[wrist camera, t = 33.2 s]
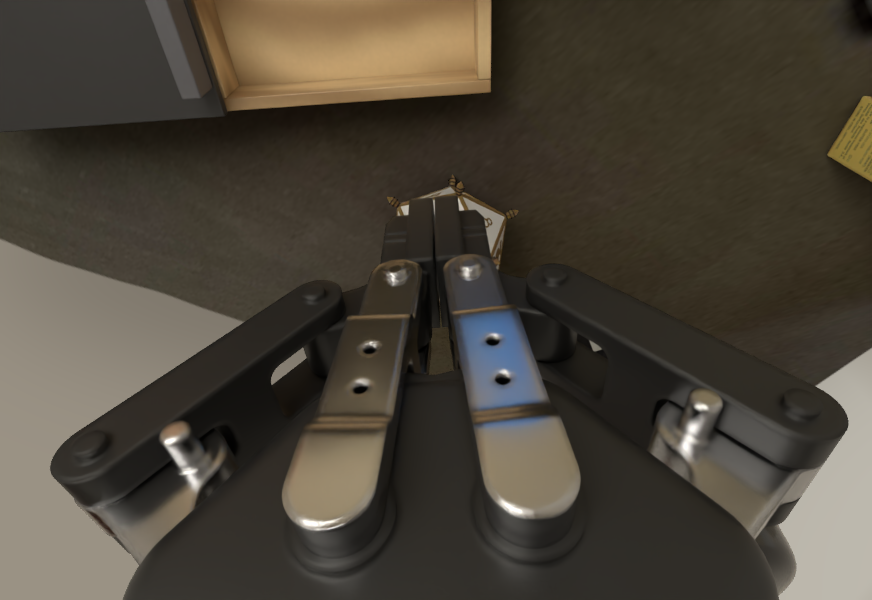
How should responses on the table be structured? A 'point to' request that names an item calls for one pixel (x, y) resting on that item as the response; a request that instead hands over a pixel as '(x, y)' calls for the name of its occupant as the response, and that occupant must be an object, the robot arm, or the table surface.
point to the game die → (492, 217)
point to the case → (345, 50)
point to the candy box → (856, 141)
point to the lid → (103, 64)
